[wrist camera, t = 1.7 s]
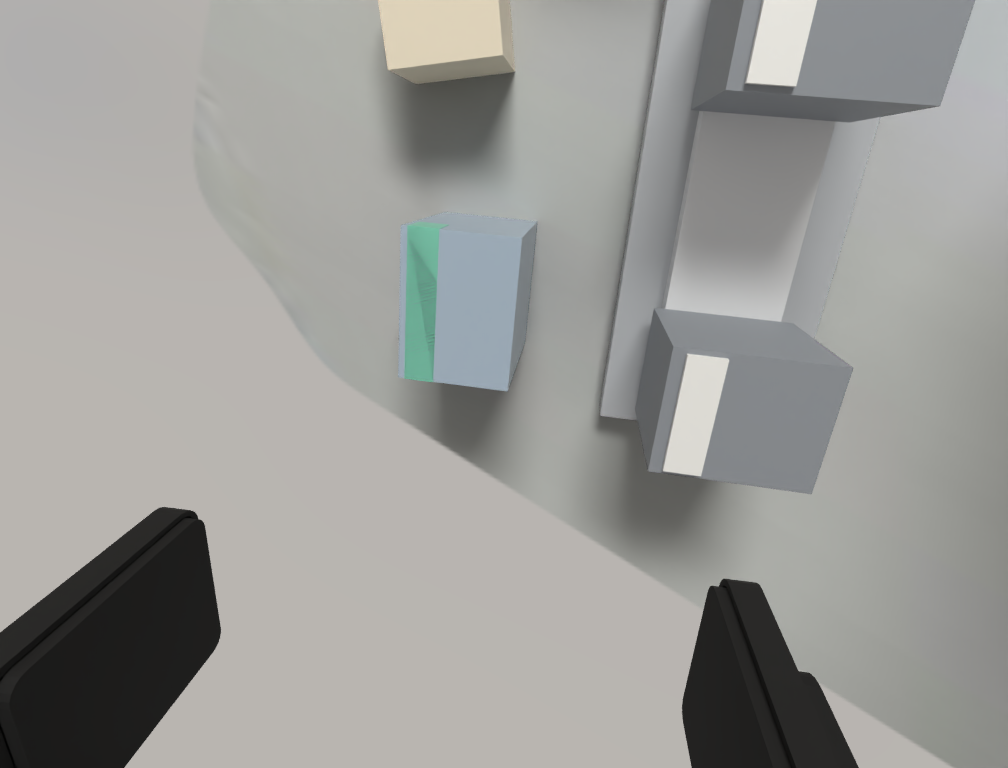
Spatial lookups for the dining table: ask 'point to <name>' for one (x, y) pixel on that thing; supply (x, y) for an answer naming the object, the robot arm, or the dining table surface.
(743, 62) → the rail fixture
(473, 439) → the dining table surface
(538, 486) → the dining table surface
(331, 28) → the dining table surface
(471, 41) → the beige cube
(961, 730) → the dining table surface
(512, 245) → the module
